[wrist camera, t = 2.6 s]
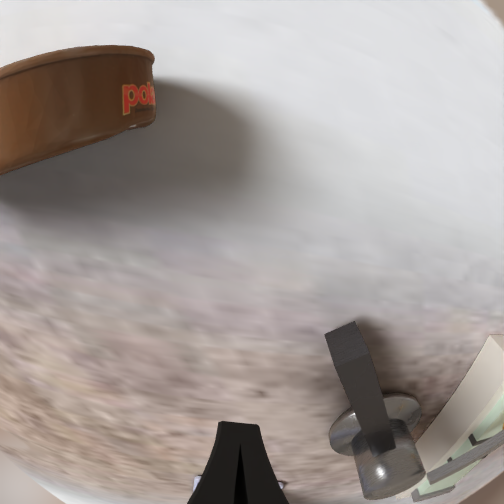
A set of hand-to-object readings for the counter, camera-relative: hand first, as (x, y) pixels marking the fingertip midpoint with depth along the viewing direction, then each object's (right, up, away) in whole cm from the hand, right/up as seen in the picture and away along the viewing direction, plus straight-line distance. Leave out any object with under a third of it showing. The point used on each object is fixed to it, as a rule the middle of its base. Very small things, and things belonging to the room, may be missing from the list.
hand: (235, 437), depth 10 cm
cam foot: (+11, -1, +7) cm, 13 cm away
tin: (-10, +13, +2) cm, 16 cm away
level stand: (+19, -8, +11) cm, 23 cm away
